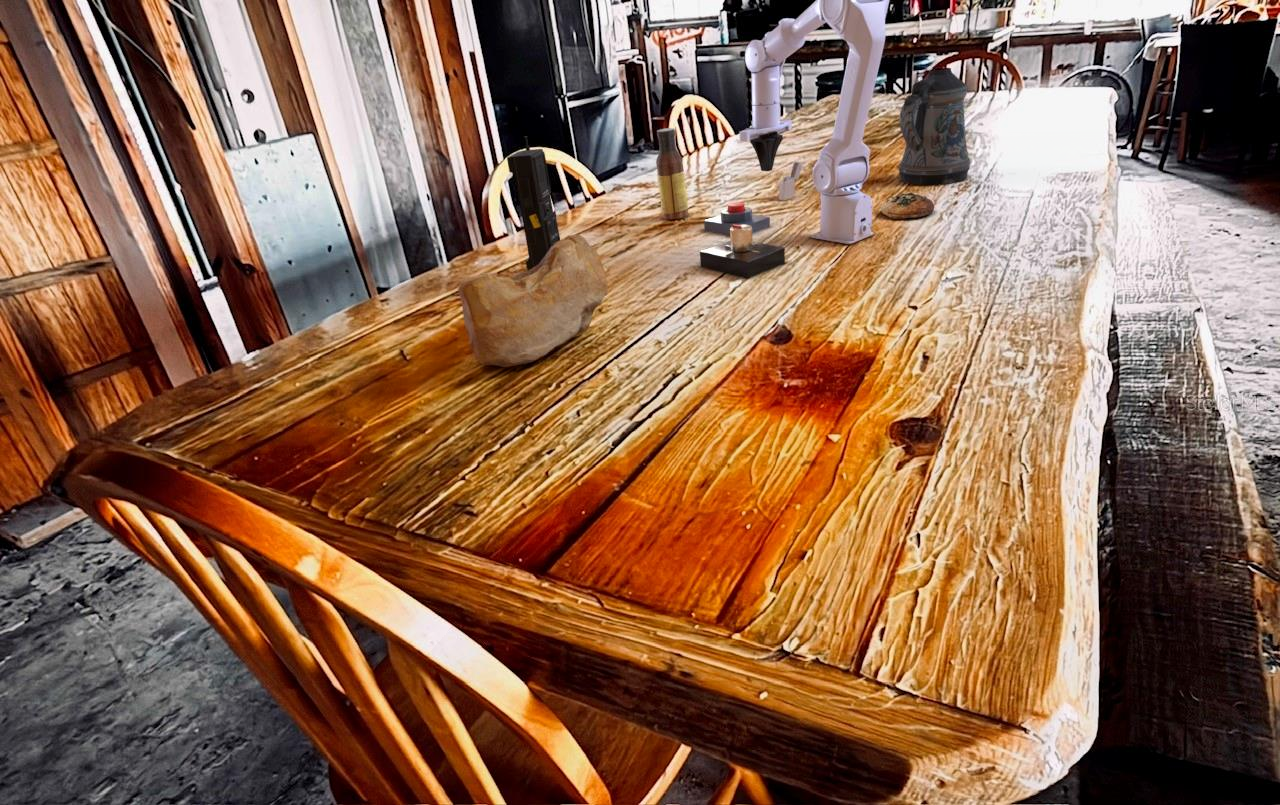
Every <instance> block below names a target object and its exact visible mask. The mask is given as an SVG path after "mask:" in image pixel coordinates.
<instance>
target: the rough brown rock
mask: <svg viewBox="0 0 1280 805" xmlns="http://www.w3.org/2000/svg"><path fill="white" fill-rule="evenodd" d="M457 291H458V294H459V298H460V302H461V307H462V316H463V322H464V327H465V330H466V332H467V336H468V339H469V344H470V345H471V348H472V351H473V355H474V357H475V359H476V360H477V361H478V362H479V363H480V364H481V365H483V366H497V367H503V368H511V367H515V366H518V365H524V364H528V363H529V364H530V363H533V362H535V361H537V360H539V359H541V358H542V357H545V356H546V355H547V354H548V353H550V352H551V351H553V350H554V349H555V348H557V347H559V346H561V345H563V344H565V343H567V342H568V341H569V340H570V339H572V338H575V337H579V336H582V335H583V334H585V333H586V332H587V331H588V330H589V328H590V326H591V323H592V320H593V316H594V312H595V310H596V309H597V308H598V307H599V306H600V305H602V303H603V301H604V299H605V297H606V296H607V295H608V293H609V292H608V291H609V283H608V281H607V274H606V271H605V268H604V266H603V263H602V260H601V256H600V255H599V253H598V252H597V250H596V249H595V248H594V247H593V246H592V245H590V244H589V242H588V241H587V239H586V238H585V237H584V236H582V235H580V234H569V235H567V236H565V237H563V238H562V239H561V238H560V241H558V242H556V243H555V244H554V245H553V246H552V247H551V248H550V249H549V251H548V252H547V254H546V255H545V257H544V258H543V259H542V260H541V262H540V263H539V264H538V265H537V266H535V267H534V268H532V269H530V270H528V271H527V270H526V271H522V272H519V273H515V274H513V275H512V276H509V277H502V276H499V275H496V274H493V273H485V274H480V275H475V276H471V277H468V278H466V279H463V280H462V281H461V282H460V283H459V285H458V288H457Z"/></svg>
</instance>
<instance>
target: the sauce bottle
mask: <svg viewBox="0 0 1280 805" xmlns="http://www.w3.org/2000/svg"><path fill="white" fill-rule="evenodd" d="M656 135H657V139H658V146H659V147H658V148H659V152H658V154H657V158H656V161H655V163H656V171H657V183H658V191H659V192H658V193H659V199H660V209H661V213H662V217H663V219H664V220H666V221H671V220H673V221H675V220H677V221H678V220H682V219H685V218H687V217H688V215H689V205H688V196H687V188H686V177H685V170H684V164H683V157H682V156H681V154H680V153H679V151H678V149H677V144H676V131H675V128H674V127H667V128H660V129H658V130H656Z"/></svg>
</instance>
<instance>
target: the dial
mask: <svg viewBox="0 0 1280 805" xmlns="http://www.w3.org/2000/svg"><path fill="white" fill-rule="evenodd" d="M729 238H730V239H729V241H730V242H731V251H733V252H747V251H750V250H752V249H753V242H754V241H753V233H752V226H750V225H735V224H734V225H732V227H731V228H730V235H729Z"/></svg>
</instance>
